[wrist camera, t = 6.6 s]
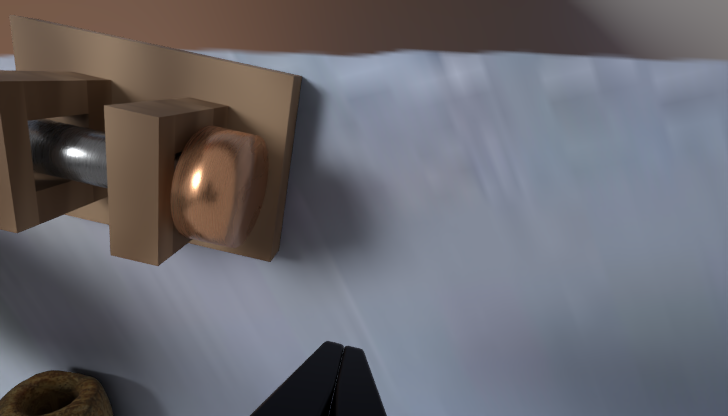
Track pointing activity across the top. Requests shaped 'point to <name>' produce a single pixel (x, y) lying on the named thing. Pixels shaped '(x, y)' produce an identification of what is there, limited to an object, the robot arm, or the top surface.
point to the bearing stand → (135, 132)
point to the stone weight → (57, 396)
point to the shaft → (191, 175)
